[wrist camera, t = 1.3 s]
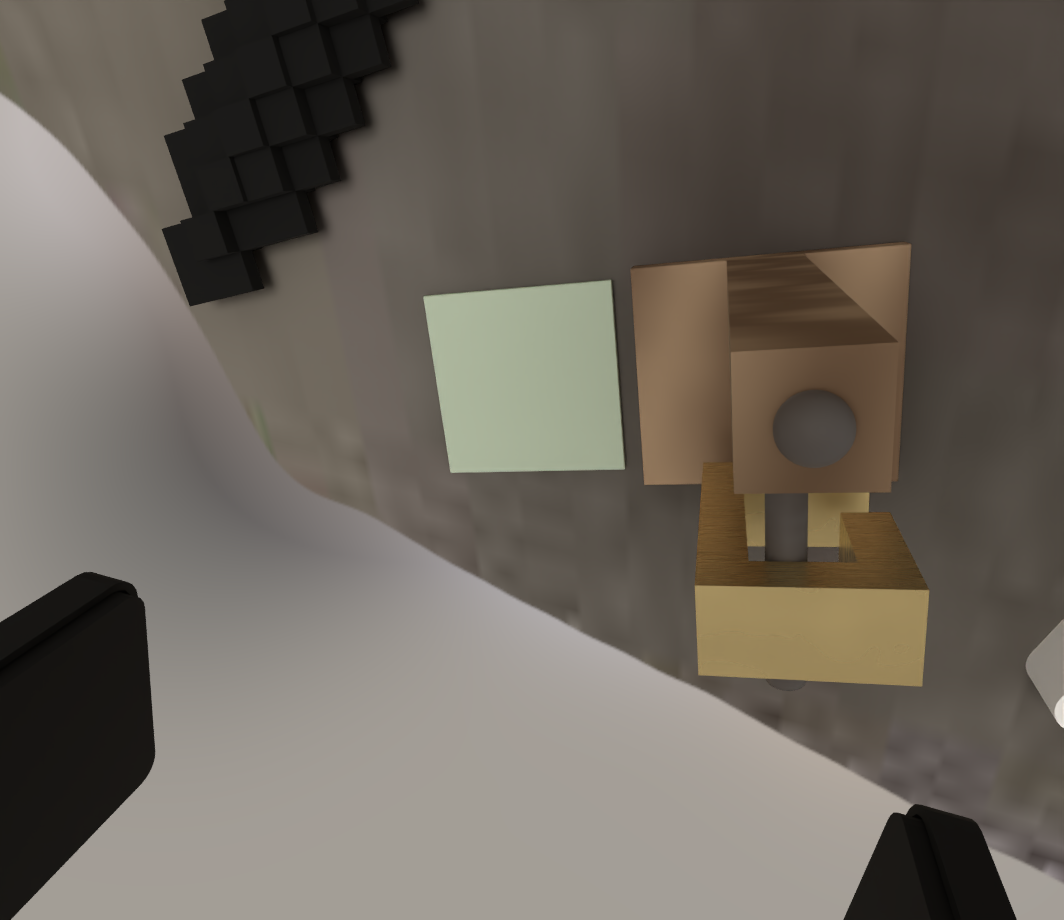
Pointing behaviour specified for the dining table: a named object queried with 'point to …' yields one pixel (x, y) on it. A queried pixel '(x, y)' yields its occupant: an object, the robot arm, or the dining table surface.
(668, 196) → the dining table surface
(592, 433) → the pad
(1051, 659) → the white slotted holder
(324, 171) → the toy sword
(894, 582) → the c link
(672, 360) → the stand
